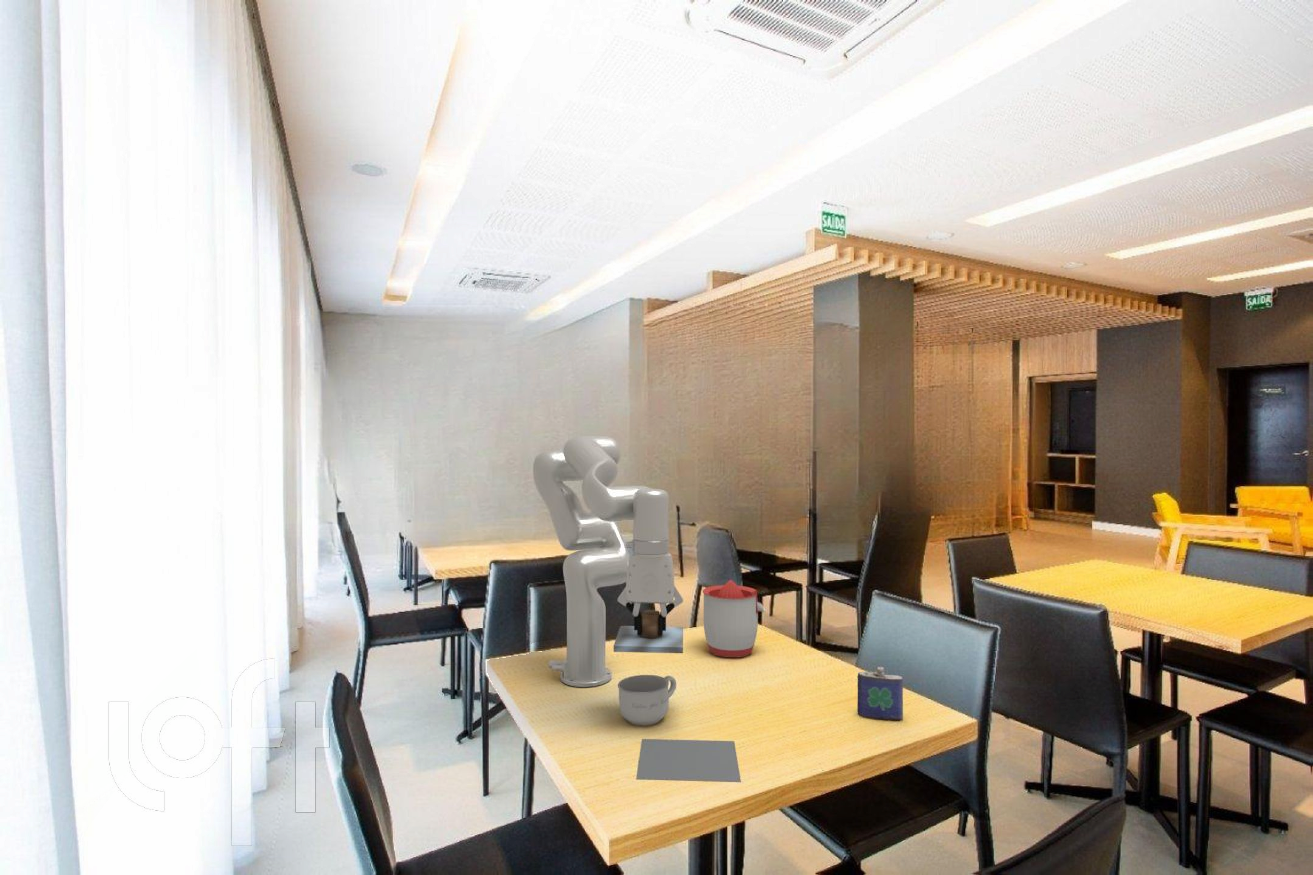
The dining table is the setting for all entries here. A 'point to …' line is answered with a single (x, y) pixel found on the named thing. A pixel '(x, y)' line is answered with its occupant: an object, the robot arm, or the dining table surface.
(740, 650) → the citrus juicer
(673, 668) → the dining table surface
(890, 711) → the flask
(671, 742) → the tray
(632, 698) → the teacup
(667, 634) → the lid
